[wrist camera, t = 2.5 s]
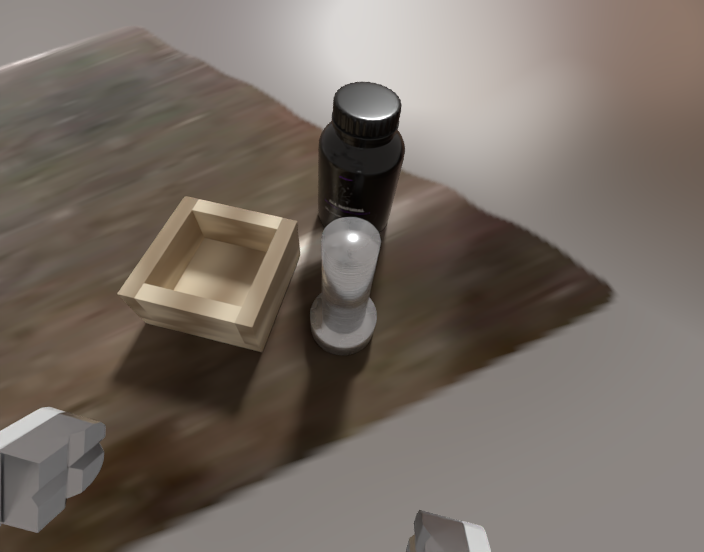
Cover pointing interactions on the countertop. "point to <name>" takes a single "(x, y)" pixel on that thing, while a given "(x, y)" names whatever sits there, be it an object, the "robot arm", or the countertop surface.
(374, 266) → the metal coffee tamper
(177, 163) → the countertop surface
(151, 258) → the open wooden box
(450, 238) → the countertop surface
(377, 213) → the supplement bottle
